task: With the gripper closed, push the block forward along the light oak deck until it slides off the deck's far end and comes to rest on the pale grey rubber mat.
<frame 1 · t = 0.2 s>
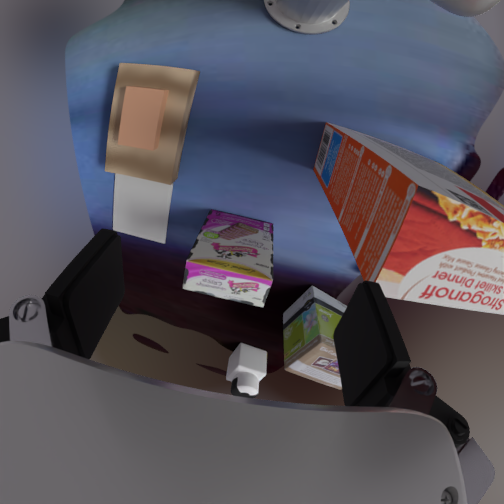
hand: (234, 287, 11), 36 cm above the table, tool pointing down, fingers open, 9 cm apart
tea box: (322, 313, 60), on the table
medicine bottle: (247, 353, 68), on the table
deck: (152, 119, 41), on the table
pasta box: (383, 165, 43), on the table
block: (144, 116, 37), point 3 cm above the table, touching deck
mat: (140, 207, 49), on the table
candy bar box: (238, 226, 50), on the table
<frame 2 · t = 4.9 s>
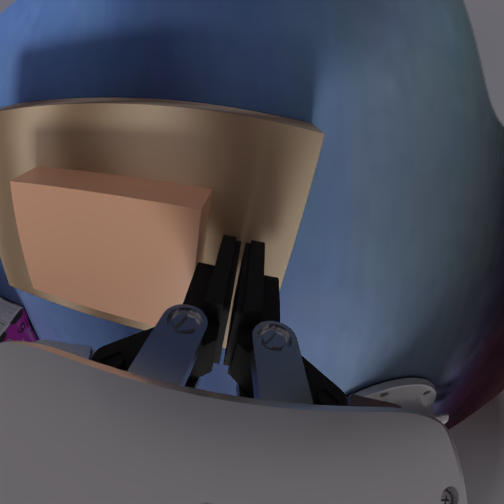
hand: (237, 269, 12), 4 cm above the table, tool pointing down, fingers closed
deck: (126, 203, 15), on the table
block: (111, 235, 12), point 4 cm above the table, touching gripper
candy bar box: (28, 334, 24), on the table
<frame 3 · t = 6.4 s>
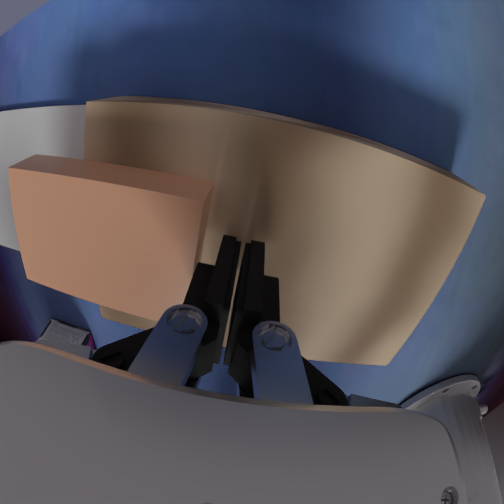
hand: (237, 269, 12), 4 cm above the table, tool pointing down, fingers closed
deck: (274, 229, 16), on the table
block: (109, 226, 12), point 4 cm above the table, touching deck
mat: (34, 188, 15), on the table
candy bar box: (86, 357, 25), on the table
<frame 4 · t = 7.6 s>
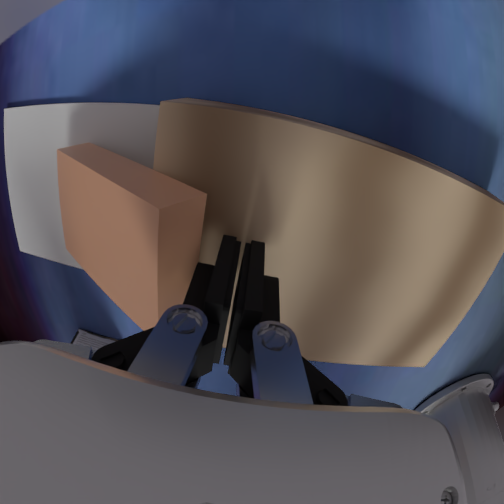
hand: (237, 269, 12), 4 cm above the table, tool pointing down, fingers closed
deck: (334, 242, 16), on the table
block: (130, 222, 13), point 3 cm above the table, tilted 32°, touching deck, mat
mat: (69, 192, 15), on the table
candy bar box: (113, 367, 25), on the table
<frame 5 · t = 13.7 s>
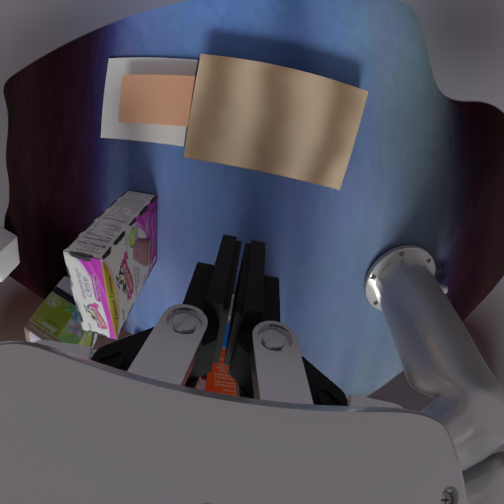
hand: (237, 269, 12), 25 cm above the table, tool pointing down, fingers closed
tea box: (81, 308, 51), on the table
medicine bottle: (8, 242, 43), on the table
deck: (274, 117, 31), on the table
pasta box: (241, 341, 51), on the table
block: (159, 98, 30), resting on mat
mat: (144, 99, 30), on the table
candy bar box: (143, 226, 40), on the table
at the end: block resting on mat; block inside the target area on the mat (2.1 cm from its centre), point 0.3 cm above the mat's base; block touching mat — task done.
